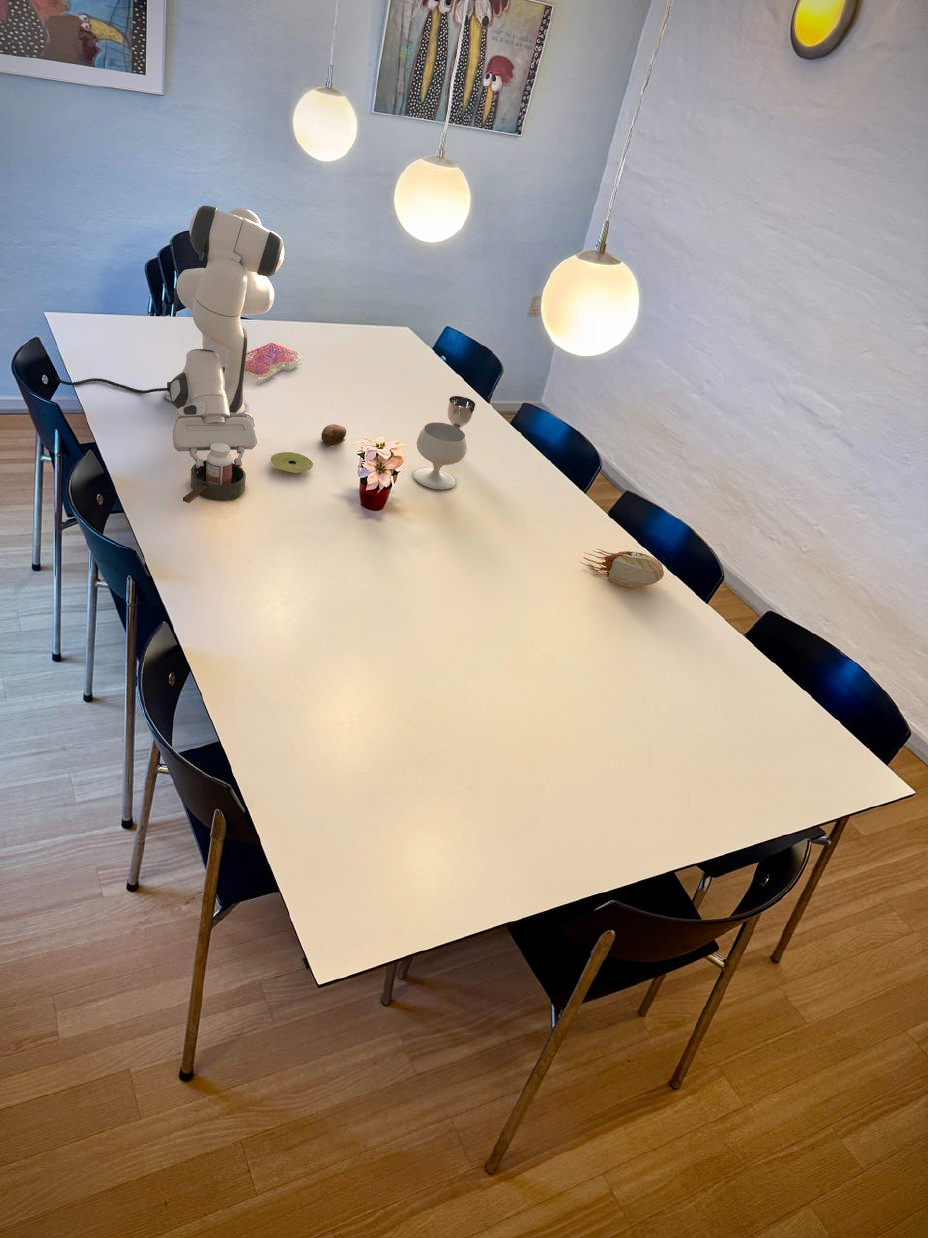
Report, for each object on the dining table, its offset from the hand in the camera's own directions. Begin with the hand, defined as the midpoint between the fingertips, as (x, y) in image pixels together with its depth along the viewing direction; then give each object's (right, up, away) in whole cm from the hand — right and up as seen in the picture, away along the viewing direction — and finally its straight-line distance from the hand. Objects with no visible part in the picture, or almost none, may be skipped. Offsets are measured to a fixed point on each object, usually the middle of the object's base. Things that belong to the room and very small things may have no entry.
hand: (219, 466), depth 219 cm
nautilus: (+101, -27, +11) cm, 105 cm away
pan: (-2, -5, +4) cm, 6 cm away
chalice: (+52, +2, +33) cm, 62 cm away
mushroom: (+22, +13, +37) cm, 45 cm away
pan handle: (-4, -8, -6) cm, 11 cm away
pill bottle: (-1, -4, +4) cm, 6 cm away
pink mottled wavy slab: (-4, +44, +71) cm, 83 cm away
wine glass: (+57, +15, +52) cm, 79 cm away
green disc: (+14, +3, +20) cm, 25 cm away
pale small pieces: (+35, -4, +19) cm, 40 cm away
